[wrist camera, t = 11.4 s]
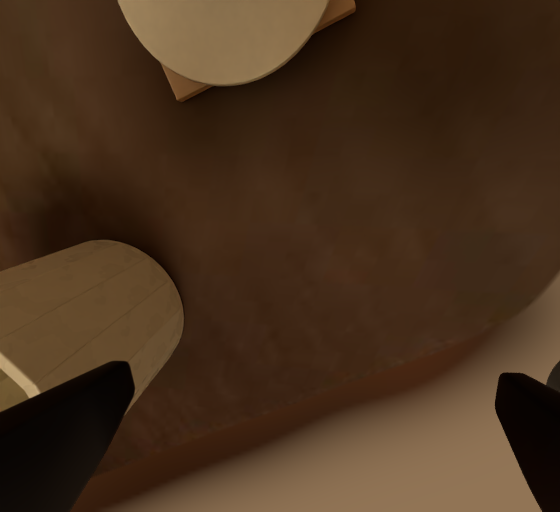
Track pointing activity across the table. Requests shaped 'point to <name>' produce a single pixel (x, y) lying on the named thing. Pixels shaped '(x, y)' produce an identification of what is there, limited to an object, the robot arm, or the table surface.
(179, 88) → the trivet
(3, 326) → the pot
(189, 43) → the lid
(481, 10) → the table surface
